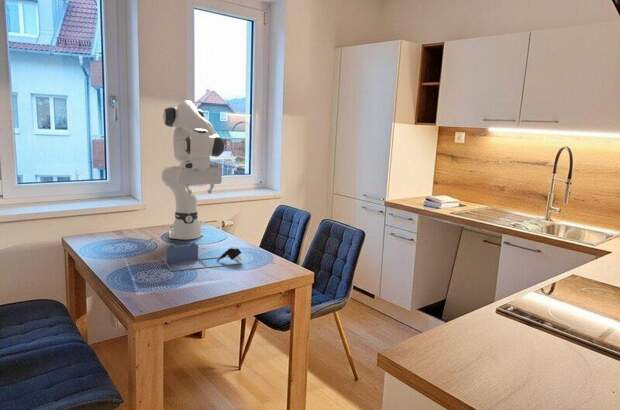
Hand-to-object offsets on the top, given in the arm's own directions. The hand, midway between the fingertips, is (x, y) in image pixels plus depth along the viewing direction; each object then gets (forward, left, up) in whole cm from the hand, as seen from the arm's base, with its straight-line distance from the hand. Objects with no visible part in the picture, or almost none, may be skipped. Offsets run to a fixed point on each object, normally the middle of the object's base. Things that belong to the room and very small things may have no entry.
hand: (199, 193), depth 208 cm
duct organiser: (+12, -1, -30) cm, 33 cm away
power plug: (+13, +7, -33) cm, 35 cm away
